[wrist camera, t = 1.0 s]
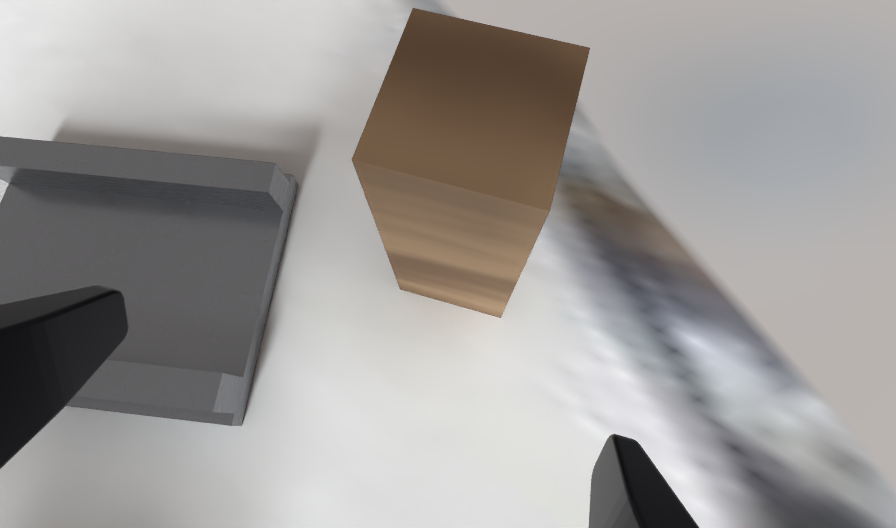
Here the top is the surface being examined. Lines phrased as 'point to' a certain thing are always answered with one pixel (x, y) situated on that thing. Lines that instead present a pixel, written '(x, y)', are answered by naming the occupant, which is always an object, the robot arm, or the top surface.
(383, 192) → the walnut block
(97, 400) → the bottom track
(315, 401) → the top surface
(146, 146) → the top surface
